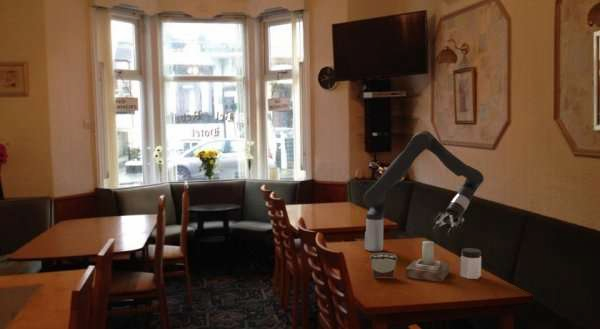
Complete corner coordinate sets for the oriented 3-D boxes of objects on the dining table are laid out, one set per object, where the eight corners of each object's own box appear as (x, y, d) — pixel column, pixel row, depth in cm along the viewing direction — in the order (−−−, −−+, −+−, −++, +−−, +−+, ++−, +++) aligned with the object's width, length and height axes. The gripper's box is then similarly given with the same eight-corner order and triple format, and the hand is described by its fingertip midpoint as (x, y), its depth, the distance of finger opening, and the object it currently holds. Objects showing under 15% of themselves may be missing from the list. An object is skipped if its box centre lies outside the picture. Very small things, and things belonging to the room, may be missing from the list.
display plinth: (405, 277, 229) (406, 265, 228) (414, 268, 243) (414, 256, 243) (442, 282, 222) (442, 269, 221) (448, 272, 236) (448, 260, 236)
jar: (484, 277, 228) (485, 251, 227) (471, 280, 224) (471, 253, 223) (470, 272, 236) (470, 246, 235) (456, 274, 232) (457, 248, 231)
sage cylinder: (421, 266, 231) (421, 242, 230) (423, 263, 236) (423, 240, 235) (432, 268, 229) (432, 244, 228) (434, 265, 234) (434, 241, 233)
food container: (396, 274, 234) (396, 252, 233) (397, 278, 228) (397, 256, 227) (369, 273, 235) (369, 252, 234) (369, 277, 229) (369, 255, 228)
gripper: (442, 199, 245) (425, 225, 240) (466, 203, 234) (449, 230, 228) (449, 209, 249) (433, 235, 243) (474, 213, 237) (457, 240, 232)
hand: (441, 233), depth 236 cm, fingers open, 8 cm apart
